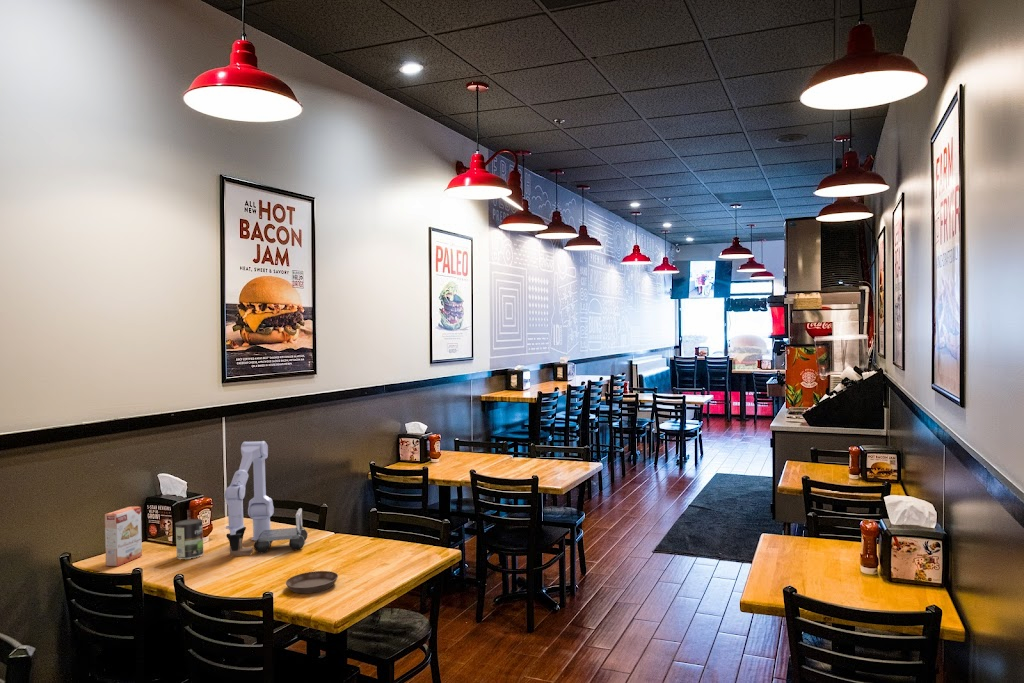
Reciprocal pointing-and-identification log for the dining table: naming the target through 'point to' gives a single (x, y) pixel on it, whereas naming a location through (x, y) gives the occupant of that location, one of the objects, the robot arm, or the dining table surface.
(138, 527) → the cracker box
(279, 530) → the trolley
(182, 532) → the coffee can
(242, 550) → the brown l-shaped block
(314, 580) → the plant saucer
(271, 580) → the dining table surface
